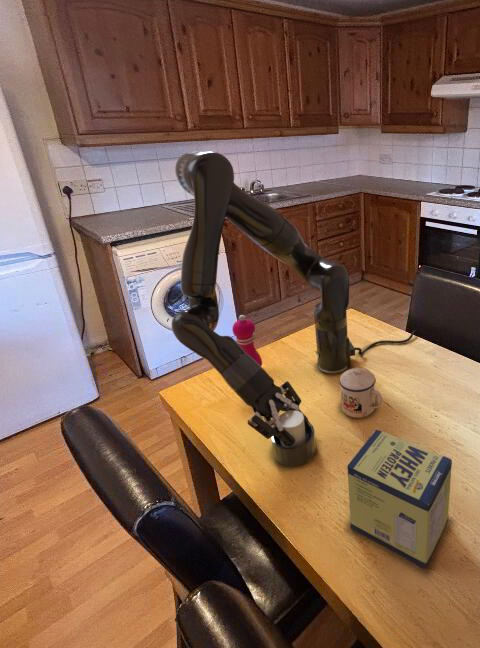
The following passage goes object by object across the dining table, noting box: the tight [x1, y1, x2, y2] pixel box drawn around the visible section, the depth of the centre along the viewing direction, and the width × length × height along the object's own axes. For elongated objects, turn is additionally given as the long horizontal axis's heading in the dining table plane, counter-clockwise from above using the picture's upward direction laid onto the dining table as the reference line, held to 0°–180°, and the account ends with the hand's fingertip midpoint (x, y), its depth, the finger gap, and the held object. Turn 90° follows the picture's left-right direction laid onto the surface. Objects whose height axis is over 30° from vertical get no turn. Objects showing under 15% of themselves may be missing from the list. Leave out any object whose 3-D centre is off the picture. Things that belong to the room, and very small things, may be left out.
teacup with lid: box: [338, 367, 384, 419], centre depth 104 cm, size 12×9×12 cm
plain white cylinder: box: [279, 410, 306, 448], centre depth 92 cm, size 6×6×8 cm
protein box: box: [346, 429, 453, 570], centre depth 74 cm, size 10×16×16 cm
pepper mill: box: [232, 314, 263, 367], centre depth 117 cm, size 7×7×20 cm
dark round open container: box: [270, 422, 317, 468], centre depth 93 cm, size 9×9×5 cm
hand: (299, 433), depth 91 cm, fingers closed on plain white cylinder, 5 cm apart
